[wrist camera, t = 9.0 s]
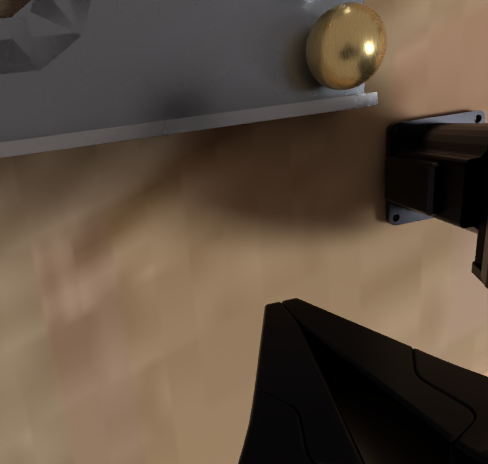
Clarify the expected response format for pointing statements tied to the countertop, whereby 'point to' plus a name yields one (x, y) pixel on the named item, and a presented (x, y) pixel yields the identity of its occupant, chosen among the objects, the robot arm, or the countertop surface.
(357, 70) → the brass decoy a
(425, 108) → the countertop surface
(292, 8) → the tray
